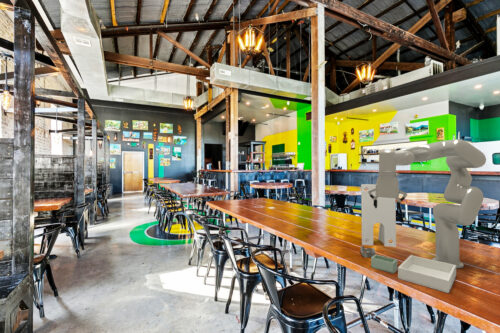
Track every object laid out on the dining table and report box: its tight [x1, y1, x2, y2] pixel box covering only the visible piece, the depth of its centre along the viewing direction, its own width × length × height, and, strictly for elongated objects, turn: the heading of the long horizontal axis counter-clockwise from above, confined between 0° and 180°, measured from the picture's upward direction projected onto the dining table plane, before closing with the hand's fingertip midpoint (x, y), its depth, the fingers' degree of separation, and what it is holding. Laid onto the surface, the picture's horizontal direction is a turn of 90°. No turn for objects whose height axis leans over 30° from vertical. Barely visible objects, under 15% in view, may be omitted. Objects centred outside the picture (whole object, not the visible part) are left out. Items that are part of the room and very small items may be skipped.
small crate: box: [370, 254, 398, 274], centre depth 119 cm, size 6×10×5 cm, turn 43°
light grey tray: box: [397, 254, 457, 294], centre depth 109 cm, size 22×18×5 cm
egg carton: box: [360, 245, 377, 259], centre depth 138 cm, size 11×8×4 cm
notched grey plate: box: [360, 183, 397, 248], centre depth 160 cm, size 20×14×40 cm
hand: (386, 208), depth 119 cm, fingers open, 9 cm apart
